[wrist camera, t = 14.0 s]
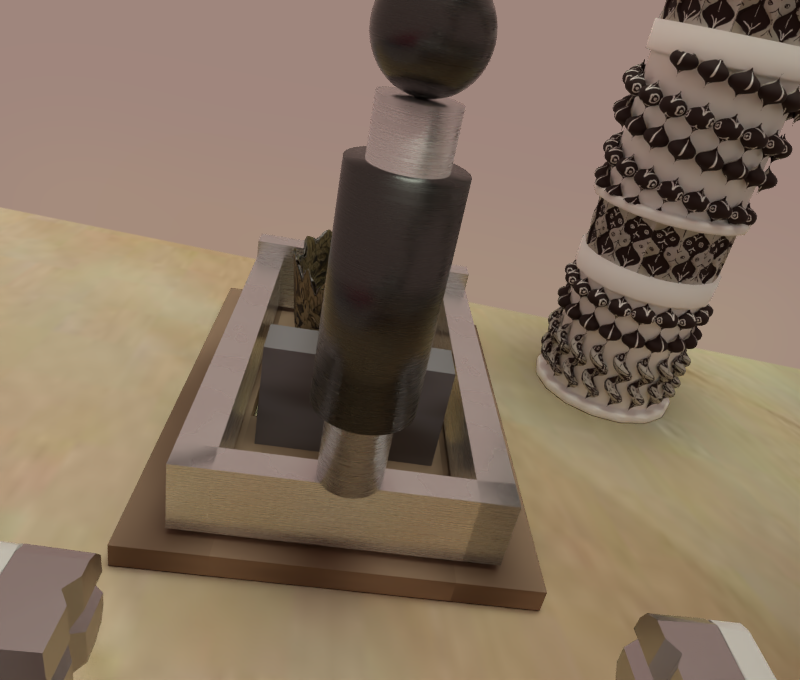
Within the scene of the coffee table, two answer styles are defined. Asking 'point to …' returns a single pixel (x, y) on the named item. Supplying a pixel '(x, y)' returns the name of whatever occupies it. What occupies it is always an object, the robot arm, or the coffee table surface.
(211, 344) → the base
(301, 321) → the cup
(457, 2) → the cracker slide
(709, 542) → the coffee table surface
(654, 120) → the decorative candle
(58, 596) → the robot arm
